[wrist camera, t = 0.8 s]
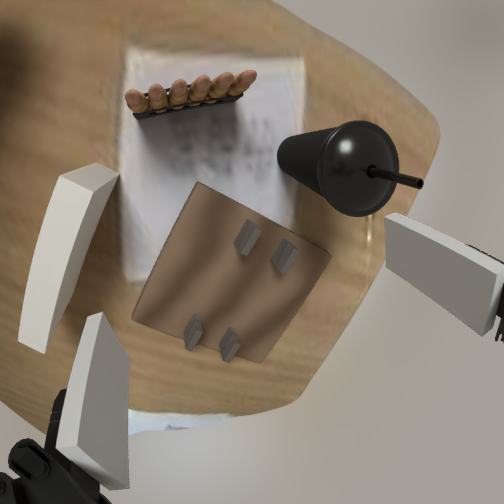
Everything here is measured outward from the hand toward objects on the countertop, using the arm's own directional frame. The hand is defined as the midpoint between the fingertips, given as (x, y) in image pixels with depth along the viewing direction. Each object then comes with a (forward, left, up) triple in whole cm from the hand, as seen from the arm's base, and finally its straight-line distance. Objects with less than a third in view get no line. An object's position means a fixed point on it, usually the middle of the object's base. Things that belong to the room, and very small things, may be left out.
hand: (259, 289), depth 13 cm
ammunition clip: (-7, +8, -23) cm, 25 cm away
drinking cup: (+7, +9, -23) cm, 26 cm away
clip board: (+8, -8, -23) cm, 25 cm away
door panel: (-11, -10, -23) cm, 27 cm away
